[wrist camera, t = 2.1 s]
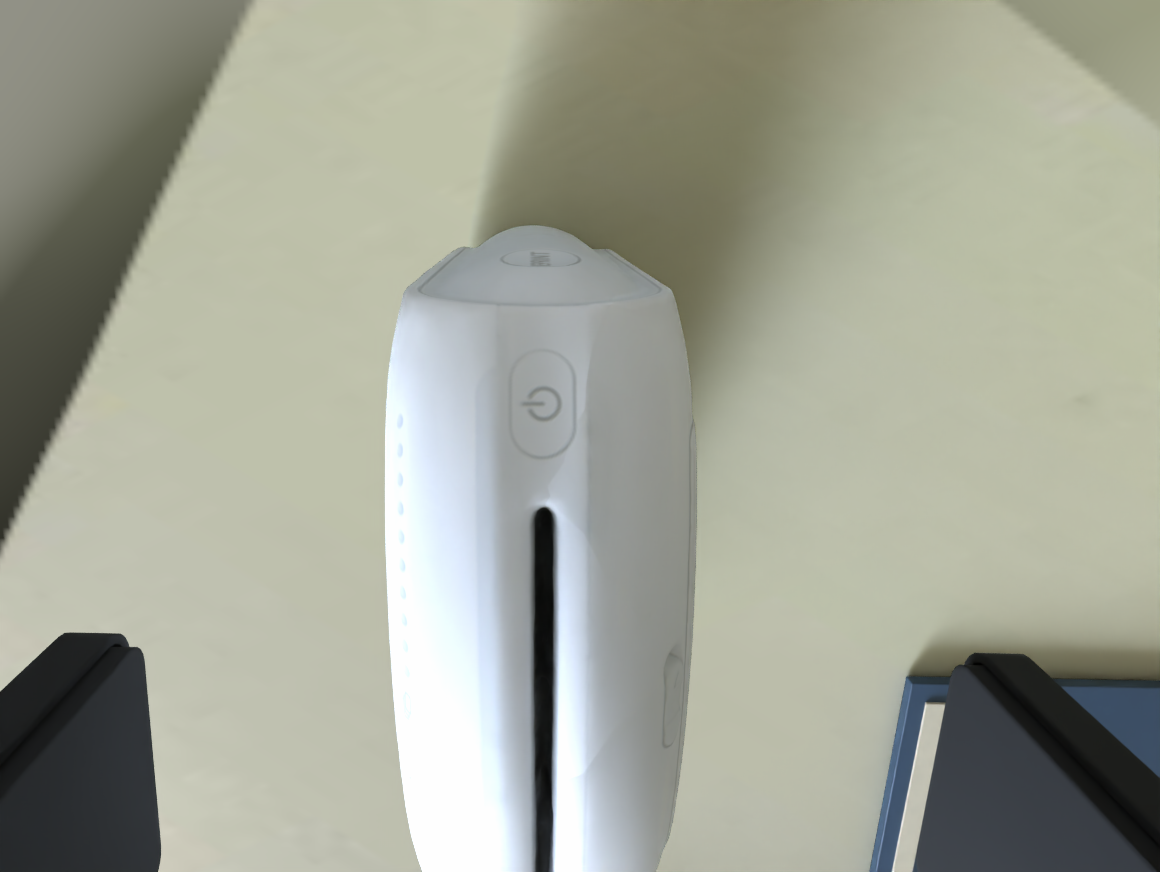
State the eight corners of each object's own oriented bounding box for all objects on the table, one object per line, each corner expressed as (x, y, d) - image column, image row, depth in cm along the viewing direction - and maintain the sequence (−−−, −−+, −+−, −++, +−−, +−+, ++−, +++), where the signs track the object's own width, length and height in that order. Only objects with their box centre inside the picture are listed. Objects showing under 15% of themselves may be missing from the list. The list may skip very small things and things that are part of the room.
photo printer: (442, 218, 20) (323, 269, 8) (623, 220, 20) (759, 271, 9) (454, 610, 23) (380, 1063, 11) (612, 608, 23) (703, 1046, 11)
